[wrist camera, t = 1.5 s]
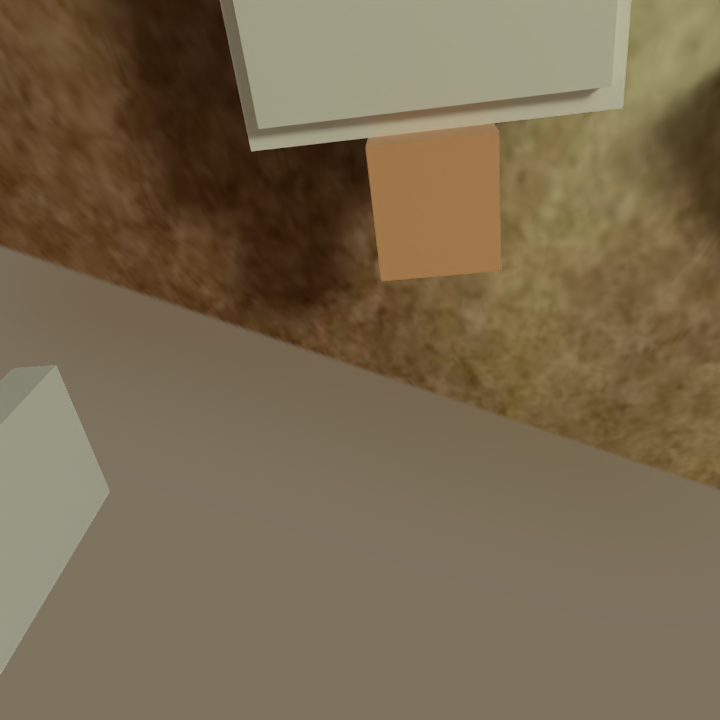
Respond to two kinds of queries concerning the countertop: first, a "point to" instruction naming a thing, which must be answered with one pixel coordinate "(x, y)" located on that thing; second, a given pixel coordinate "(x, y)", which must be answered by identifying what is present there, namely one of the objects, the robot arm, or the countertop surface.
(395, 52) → the lid
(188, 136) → the countertop surface
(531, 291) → the countertop surface
